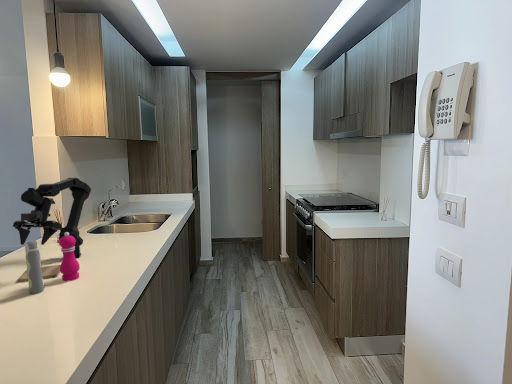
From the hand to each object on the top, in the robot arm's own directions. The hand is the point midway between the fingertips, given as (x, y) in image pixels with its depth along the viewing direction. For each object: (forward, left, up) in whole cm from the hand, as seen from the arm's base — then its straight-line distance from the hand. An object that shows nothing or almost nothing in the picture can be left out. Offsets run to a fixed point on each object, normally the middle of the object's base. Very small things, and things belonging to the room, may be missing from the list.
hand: (32, 244), depth 140 cm
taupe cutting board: (-2, -1, -14) cm, 14 cm away
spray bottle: (-5, +20, -14) cm, 25 cm away
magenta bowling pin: (-15, +10, -14) cm, 23 cm away
